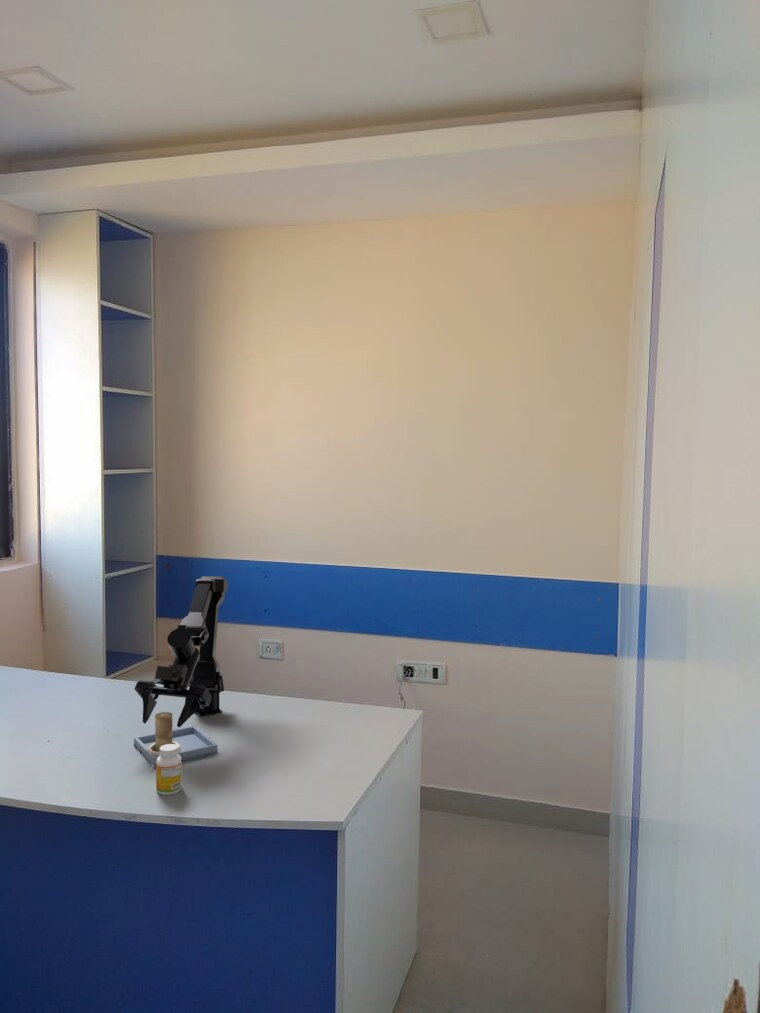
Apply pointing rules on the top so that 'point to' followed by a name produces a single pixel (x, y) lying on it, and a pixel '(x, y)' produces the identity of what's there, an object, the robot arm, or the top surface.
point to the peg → (163, 729)
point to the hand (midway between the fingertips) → (160, 724)
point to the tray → (178, 744)
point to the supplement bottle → (168, 770)
